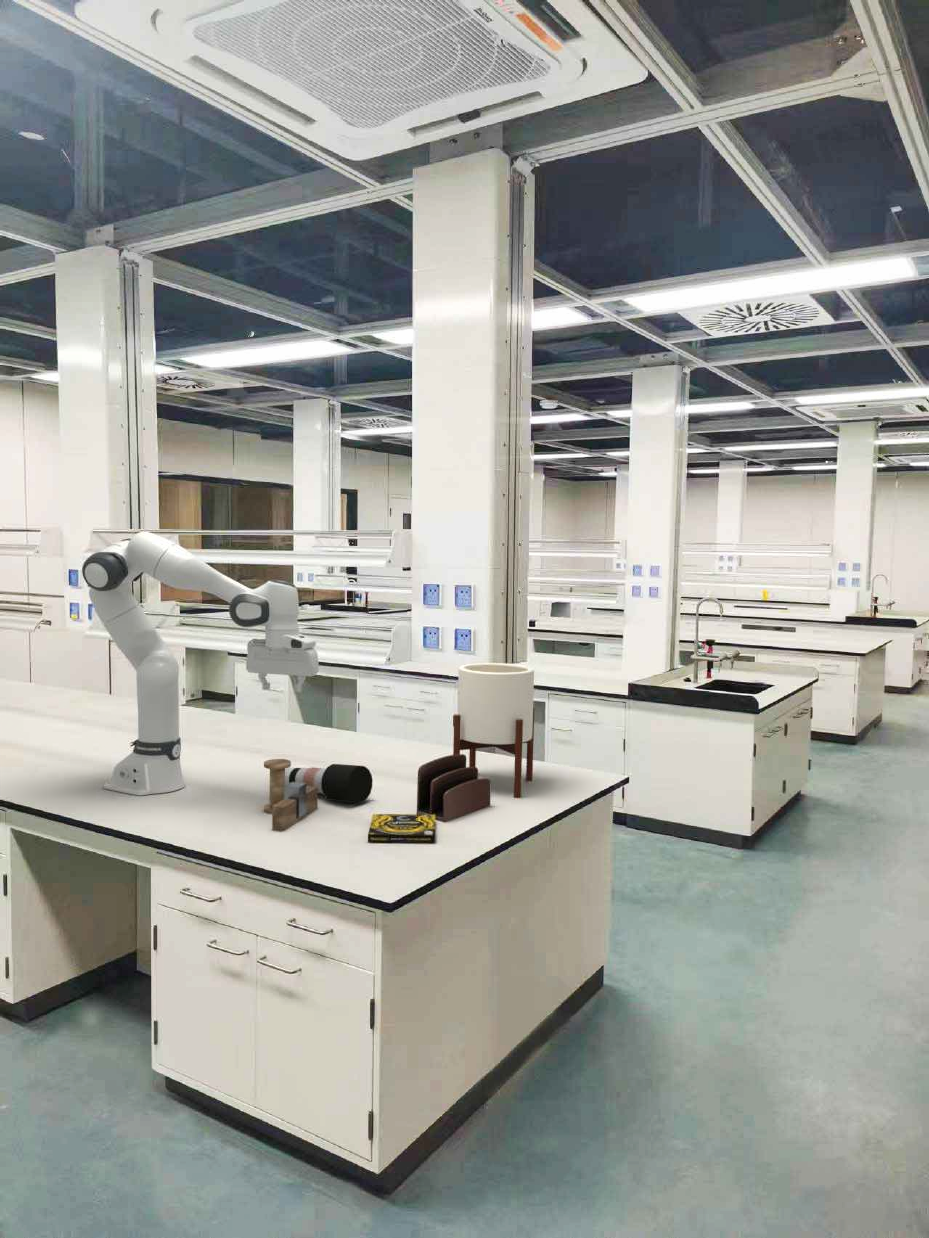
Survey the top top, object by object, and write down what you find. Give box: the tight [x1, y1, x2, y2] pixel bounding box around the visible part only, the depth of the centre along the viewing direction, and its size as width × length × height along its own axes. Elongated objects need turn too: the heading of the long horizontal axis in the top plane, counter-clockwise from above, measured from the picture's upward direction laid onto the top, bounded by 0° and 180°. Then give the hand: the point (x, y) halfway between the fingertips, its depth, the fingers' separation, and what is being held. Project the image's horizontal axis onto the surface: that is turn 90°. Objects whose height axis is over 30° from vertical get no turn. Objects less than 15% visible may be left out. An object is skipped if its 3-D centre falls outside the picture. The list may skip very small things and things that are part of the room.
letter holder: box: [416, 753, 491, 823], centre depth 228 cm, size 10×20×14 cm, turn 141°
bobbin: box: [263, 758, 292, 815], centre depth 224 cm, size 7×7×13 cm
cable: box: [285, 763, 373, 804], centre depth 240 cm, size 10×34×10 cm, turn 55°
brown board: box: [271, 786, 319, 832], centre depth 217 cm, size 3×20×6 cm, turn 164°
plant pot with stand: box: [452, 662, 535, 799], centre depth 252 cm, size 22×22×36 cm
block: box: [285, 782, 306, 818], centre depth 217 cm, size 4×4×8 cm
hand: (281, 690), depth 228 cm, fingers open, 8 cm apart
